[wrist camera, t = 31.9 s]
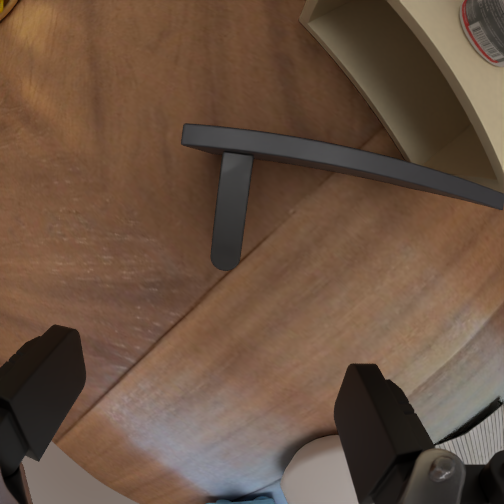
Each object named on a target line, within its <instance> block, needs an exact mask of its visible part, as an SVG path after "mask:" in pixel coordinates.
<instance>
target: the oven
mask: <svg viewBox="0 0 504 504" xmlns="http://www.w3.org/2000/svg"><path fill="white" fill-rule="evenodd" d="M463 1H464V0H306V2H305V5H304V7H303V10H302V13H301V15H300V18H299V22H300V23H301V24H302V25H303V26H304V27H305V28H306V29H307V30H308V31H309V32H310V33H311V34H312V35H313V37H314V38H315V39H316V40H317V41H318V42H319V43H320V44H321V46H322V47H323V48H324V49H325V50H326V51H327V52H328V54H329V55H330V56H331V57H332V58H333V59H334V61H335V62H336V63H337V64H338V66H339V67H340V68H341V69H342V70H343V72H344V73H345V74H346V75H347V77H348V78H349V79H350V81H351V82H352V83H353V84H354V86H355V87H356V88H357V90H358V91H359V92H360V94H361V95H362V96H363V98H364V99H365V100H366V102H367V103H368V105H369V106H370V107H371V109H372V110H373V112H374V113H375V114H376V116H377V117H378V119H379V120H380V122H381V123H382V125H383V126H384V128H385V129H386V131H387V132H388V134H389V135H390V137H391V138H392V140H393V141H394V143H395V144H396V146H397V148H398V149H399V151H400V152H401V154H402V156H403V157H404V159H405V161H407V162H411V163H415V164H418V165H421V166H425V167H428V168H432V169H435V170H438V171H441V172H444V173H447V174H451V175H454V176H457V177H460V178H463V179H465V180H468V181H471V182H474V183H477V184H480V185H482V186H485V187H488V188H490V189H493V190H496V191H498V192H501V193H503V194H504V67H498V66H495V65H493V64H491V63H490V62H488V61H487V60H486V59H484V58H483V57H482V56H481V55H480V54H479V53H478V52H477V51H476V50H475V48H474V47H473V46H472V44H471V43H470V41H469V40H468V38H467V36H466V34H465V32H464V30H463V27H462V24H461V20H460V6H461V4H462V2H463Z"/></svg>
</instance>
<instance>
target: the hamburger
mask: <svg viewBox="0 0 504 504" xmlns="http://www.w3.org/2000/svg"><path fill="white" fill-rule="evenodd" d="M17 1H18V0H0V21H1V20H2V19H3V18H4V17H5V16H6V15H7V14H8V13H9V12H10V11H11V9H12V8H13V7H14V6H15V4H16V3H17Z"/></svg>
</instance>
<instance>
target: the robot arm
mask: <svg viewBox="0 0 504 504" xmlns="http://www.w3.org/2000/svg"><path fill="white" fill-rule="evenodd" d="M85 381H86V369H85V363H84V358H83V352H82V346H81V340H80V335H79V332H78V331H77V330H76V329H72V328H68V327H64V326H60V325H56V324H55V325H53V326H51V327H50V328H49V329H48V330H47V331H46V332H45V333H44V334H43V335H42V336H38V337H36V338H34V339H32V340H30V341H28V342H26V343H25V344H24V345H23V346H22V347H21V348H20V349H19V350H18V351H17V352H16V354H14V355H13V356H12V357H11V358H10V359H9V362H8V361H7V362H6V363H5V364H4V365H3V366H2V367H1V368H0V504H33V503H32V499H31V495H30V492H29V487H28V483H27V480H26V476H25V470H24V467H23V464H22V462H21V461H22V459H23V458H24V456H28V457H30V458H32V459H34V460H36V461H40V459H41V457H42V455H43V454H44V452H45V450H46V449H47V447H48V445H49V443H50V442H51V440H52V438H53V437H54V435H55V433H56V432H57V430H58V428H59V427H60V425H61V423H62V422H63V420H64V418H65V417H66V415H67V413H68V412H69V410H70V409H71V407H72V405H73V404H74V402H75V401H76V399H77V397H78V396H79V394H80V393H81V391H82V389H83V387H84V385H85ZM334 420H335V424H336V427H337V431H338V434H339V437H340V441H341V444H342V448H343V451H344V454H345V458H346V461H347V465H348V468H349V472H350V475H351V478H352V482H353V486H354V489H355V493H356V496H357V500H358V503H359V504H504V450H502V451H499V452H497V453H495V454H494V455H493V457H492V458H491V459H490V460H489V462H488V463H487V464H463V462H462V460H461V459H460V458H459V457H458V456H457V455H456V454H454V453H453V452H451V451H448V450H446V449H440V448H435V446H434V444H433V442H432V440H431V439H430V437H429V435H428V433H427V432H426V430H425V428H424V426H423V425H422V423H421V421H420V419H419V418H418V416H417V414H416V413H414V409H413V407H412V406H411V404H409V401H408V399H407V397H406V396H405V394H404V392H403V391H402V389H401V388H399V387H398V386H397V385H396V384H395V383H393V382H392V381H391V380H390V379H389V380H385V378H384V376H383V375H382V373H381V371H380V369H379V368H378V366H377V365H376V364H350V365H349V366H348V368H347V371H346V373H345V376H344V379H343V382H342V385H341V388H340V391H339V394H338V396H337V399H336V402H335V406H334Z"/></svg>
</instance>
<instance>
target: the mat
mask: <svg viewBox="0 0 504 504" xmlns="http://www.w3.org/2000/svg"><path fill="white" fill-rule="evenodd" d="M498 402H499V404H500V405H499V407H497V408H496V409H495V410H494V411H493V412H492V413H490V414H489V415H488V416H486V417H485V418H484V419H483V420H481V421H480V422H479V423H477V424H476V425H475V426H473V427H472V428H471V429H469V430H468V431H466V432H465V433H463V434H462V435H460V436H457V437H455V438H452V439H450V440H447V441H444V442H441V443H439V444H436V445H434V446H435V448H440V449H446V450H448V451H451V452H453V453H454V454H456V455H457V456H458V457H459V458H460V459H461V460H462V462H463V464H487V463H488V462H489V460H490V459H491V458H492V457H493V455H494V454H495V453H497V452H499V451H502V450H504V402H503V401H502V402H500V401H498Z"/></svg>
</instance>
